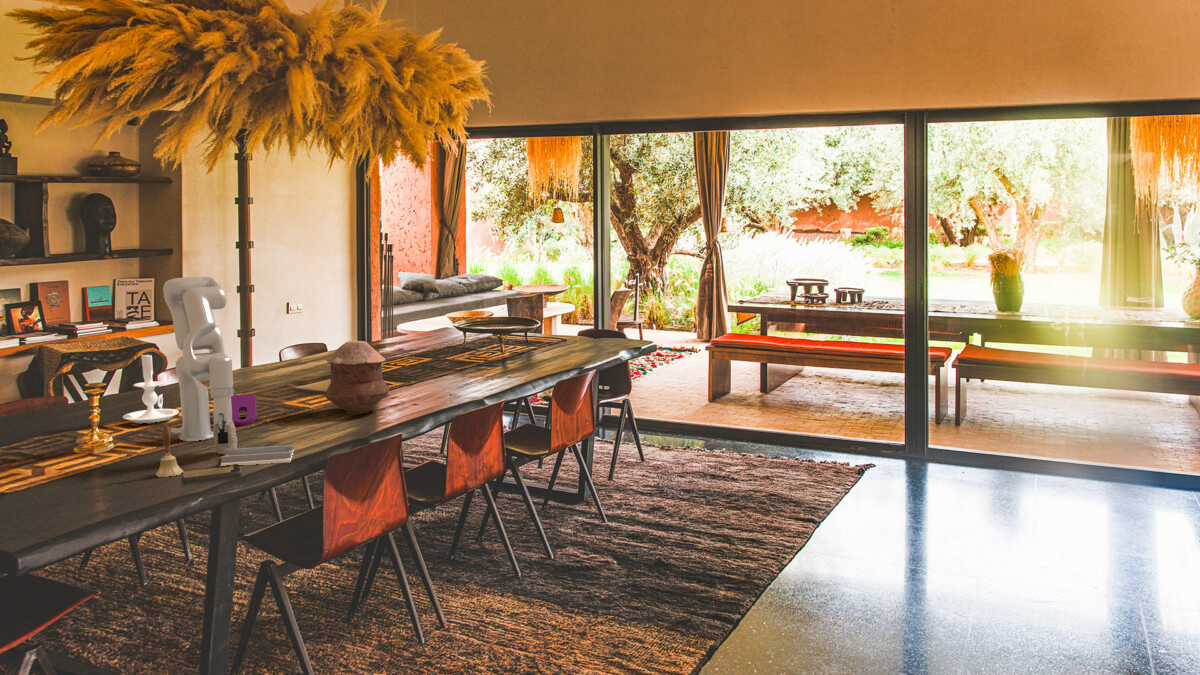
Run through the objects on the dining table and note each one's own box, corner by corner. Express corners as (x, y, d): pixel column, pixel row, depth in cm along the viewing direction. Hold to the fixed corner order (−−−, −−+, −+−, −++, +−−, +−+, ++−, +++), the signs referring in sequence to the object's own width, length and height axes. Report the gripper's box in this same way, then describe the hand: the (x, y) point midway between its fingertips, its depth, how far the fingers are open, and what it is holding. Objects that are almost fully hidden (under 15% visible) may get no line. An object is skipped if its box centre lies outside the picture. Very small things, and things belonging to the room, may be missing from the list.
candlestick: (189, 413, 394) (184, 347, 390) (170, 426, 370) (165, 356, 366) (137, 415, 391) (132, 349, 388) (115, 428, 367) (109, 358, 363)
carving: (214, 452, 329) (212, 418, 327) (237, 449, 332) (235, 416, 330) (214, 456, 323) (212, 422, 322) (238, 454, 326) (235, 420, 324)
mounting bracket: (256, 437, 375) (256, 410, 389) (255, 420, 371) (255, 394, 385) (231, 439, 372) (232, 411, 387) (229, 422, 368) (230, 395, 382)
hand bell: (149, 476, 300) (145, 427, 298) (169, 469, 307) (166, 422, 305) (169, 478, 297) (165, 429, 295) (189, 471, 304) (185, 423, 302)
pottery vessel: (315, 417, 382) (311, 345, 378) (342, 405, 407) (339, 336, 403) (375, 419, 378) (371, 346, 374) (398, 406, 403) (395, 337, 399)
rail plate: (220, 467, 309) (220, 458, 309) (227, 456, 323) (226, 448, 323) (290, 462, 314) (289, 453, 314) (293, 451, 328) (293, 443, 328)
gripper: (214, 387, 332) (217, 435, 334) (206, 397, 315) (209, 447, 318) (237, 386, 334) (240, 434, 336) (229, 395, 317) (233, 445, 319)
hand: (225, 440), depth 327 cm, fingers open, 8 cm apart
